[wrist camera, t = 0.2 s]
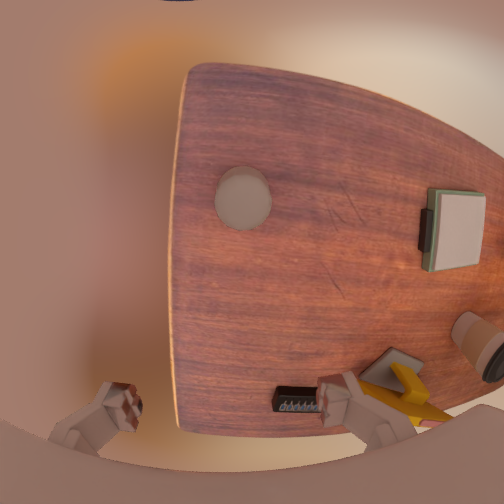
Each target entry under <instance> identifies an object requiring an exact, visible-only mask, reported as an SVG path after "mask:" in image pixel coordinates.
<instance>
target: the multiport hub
mask: <svg viewBox="0 0 504 504" xmlns="http://www.w3.org/2000/svg"><path fill="white" fill-rule="evenodd" d="M317 389H318V388H312V387H288V386H278V387H277V388H276V391H275V394H274V396H273V399H272V408H273V411H274V412H289V413H321V411H320V410H319V409H318V406H317V402H316V390H317Z"/></svg>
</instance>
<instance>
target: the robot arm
mask: <svg viewBox="0 0 504 504" xmlns="http://www.w3.org/2000/svg"><path fill="white" fill-rule="evenodd" d="M317 384H318V387H319V388H318V389H317V390H316V402H317V406H318V409H319V410H320V411H321V420H322V423H323V427H324V428H325V427H331V426H336V425H342V424H343V426H344V427H345V428H347V429H348V430H349V431H350V432H352V433H353V434H354V435H355V436H357V437H358V438H359V439H361V440H362V441H363V442H364V443H366V444H367V447H366V449H365V451H364V453H362V454H359V455H354V456H351V457H346V458H342V459H338V460H334V461H329V462H324V463H319V464H313V465H307V466H301V467H294V468H286V469H278V470H267V471H256V472H255V471H253V472H193V471H192V472H191V471H179V470H169V469H160V468H153V467H146V466H140V465H134V464H129V463H124V462H119V461H114V460H110V459H106V458H101V457H100V456H99V455H98V453H97V451H98V450H100V449H101V448H102V447H103V446H104V445H105V444H106V443H107V442H108V441H110V439H112V438H113V437H114V436H115V435H116V434H117V433H118V432H119V430H121V431H128V432H136V429H137V426H138V423H139V422H138V420H137V418H138V417H139V416H140V415H141V413H142V407H143V404H142V400H141V398H140V396H138V395H137V394H136V391H137V389H136V387H135V385H132V384H125V383H116V382H108V381H105V382H103V384H102V386H101V387H100V389H99V391H98V393H97V395H96V397H95V399H94V401H93V403H92V404H91V403H89V404H88V405H86V406H84V407H83V408H81V409H79V410H78V411H76V412H75V413H73V414H71V415H70V416H68V417H67V418H65V419H63V420H61V421H60V422H58V423H56V425H55V427H54V429H53V431H52V432H51V434H50V436H49V438H48V440H46V439H43V438H41V437H38V436H36V435H34V434H31V433H29V432H27V431H25V430H23V429H20V428H18V427H16V426H14V425H12V424H10V423H8V422H7V421H5V420H2V419H0V504H504V411H503V410H501V409H498V408H495V407H492V406H489V405H485V404H479V405H476V406H474V407H472V408H471V409H469V410H467V411H465V412H463V413H462V414H460V415H458V416H456V417H454V418H452V419H450V420H448V421H446V422H444V423H442V424H440V425H438V426H436V427H433V428H431V429H429V430H427V431H424V432H422V433H420V434H417V432H416V430H415V428H414V426H413V425H412V423H411V421H410V419H409V418H408V416H407V415H405V414H403V413H402V412H400V411H398V410H396V409H394V408H392V407H390V406H388V405H386V404H384V403H382V402H381V401H379V400H377V399H375V398H373V397H371V396H369V395H368V394H367V395H364V393H363V391H362V389H361V387H360V385H359V383H358V381H357V379H356V377H355V375H354V373H353V372H352V371H348V372H343V373H338V374H333V375H328V376H322V377H318V381H317Z"/></svg>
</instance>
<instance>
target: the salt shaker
mask: <svg viewBox="0 0 504 504" xmlns="http://www.w3.org/2000/svg"><path fill="white" fill-rule="evenodd" d="M271 204H272V197H271V194H270V188H269V185H268V182H267V179H266V178H265V177H264V176H263V175H262V173H261V172H260V171H259V170H257V169H254V168H251V167H249V166H238V167H233V168H232V169H230V170H228V171H227V172H225V173H224V174H223V176H222V177H221V179H220V180H219V182H218V183H217V191H216V193H215V203H214V206H215V209H216V212H217V215H218V217H219V218H220V219H221V220H222V221H223V222H224V223H225V224H226V225H227V226H228V227H230V228H233V229H236V230H238V231H243V230H252V229H254V228H256V227H257V226H259V225H261V224H263V222H264V221H265V219H266V218H267V216H268V215H269V213H270V210H271Z"/></svg>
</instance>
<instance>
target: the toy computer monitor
mask: <svg viewBox="0 0 504 504" xmlns="http://www.w3.org/2000/svg"><path fill="white" fill-rule="evenodd" d="M423 365H424V363H423V361H421V360H419V359H416V358H414V357H412V356H410V355H408V354H405V353H403V352H401V351H399V350H397V349H395V348H392V347H391V348H390V349H389V350H387V351H386V352H385V353H384V354H383V355H382V356H381V357H380V358H379V359H378V360H377V361H375V362H374V363H373V364H372V365H371V366H370V367H369V368H367V369H366V370H365V371H364V372H363V373H362V374H360V375H359V378H360V379H361V380H364V381H367V382H370V383H373V384H370V383H367V382H364V381H361V380H358V379H357V381H358V383H359V385H360V387H361V389H362V391H363V393H364V395H367V394H368V395H369V396H371V397H373V398H375V399H377V400H379V401H381V402H382V403H384V404H386V405H388V406H390V407H392V408H394V409H396V410H398V411H400V412H402V413H403V414H405V415H407V416H408V418H409V419H410V421H411V423H412V425H413V426H417V427H428V428H433V427H436V426H438V425H440V424H442V423H444V422H446V421H448V420H450V419H452V418H454V417H452V416H451V415H449V414H447V413H445V412H443V411H442V410H440V409H438V408H436V407H435V406H433V405H431V404H429V403H428V402H426V401H427V399H428V398H429V396H430V393H429V391H428V390H427V389H426V387H425V386H424V385H423V383H422V382H421V380H420V379H419V378H418V376H417V374H418V373H419V371H420V370H421V368H422V367H423ZM374 384H376V385H374ZM377 385H380V386H383V387H380V386H377ZM384 387H386V388H384ZM387 388H390V389H393V390H390V389H387ZM394 390H397V391H400V392H397V391H394ZM401 392H404V393H401Z"/></svg>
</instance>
